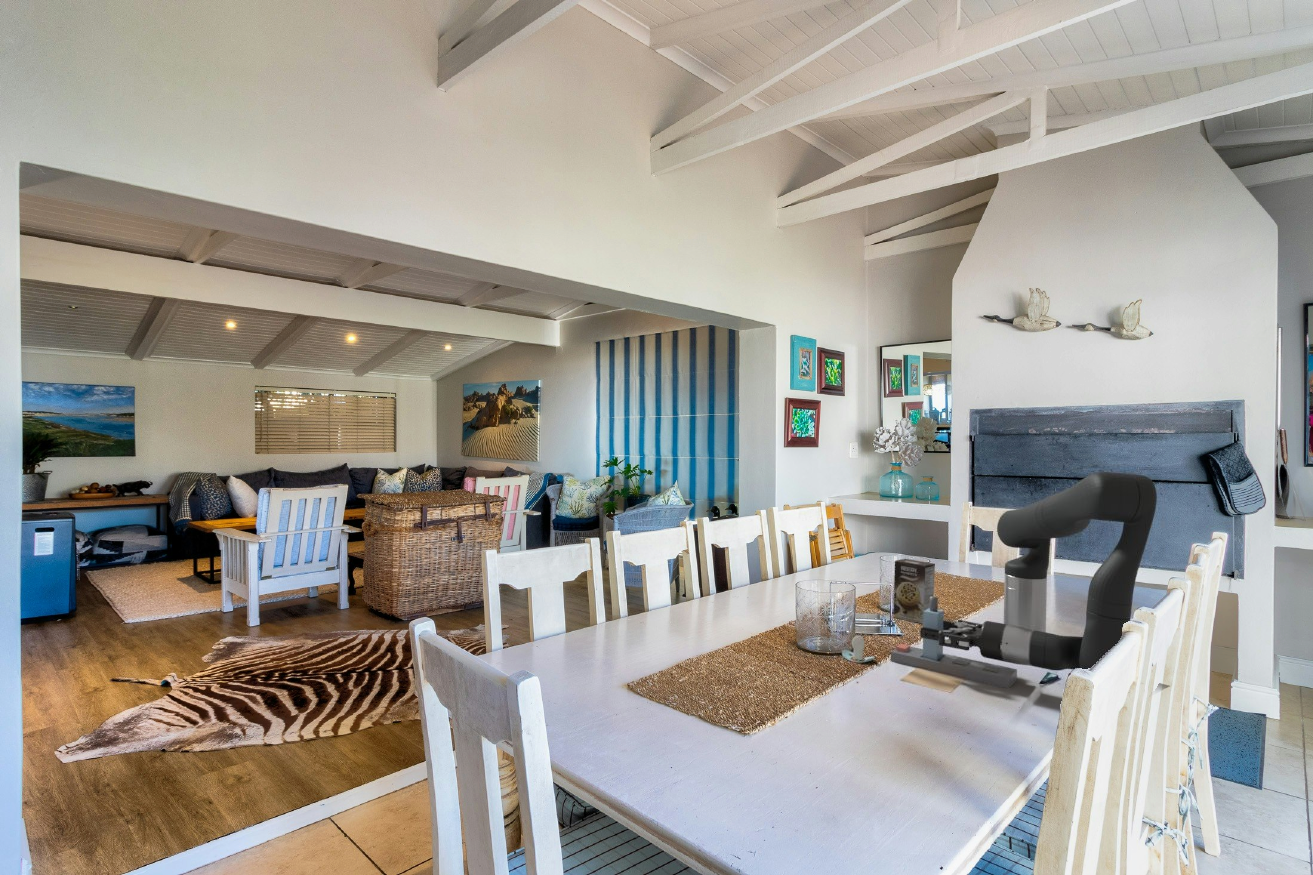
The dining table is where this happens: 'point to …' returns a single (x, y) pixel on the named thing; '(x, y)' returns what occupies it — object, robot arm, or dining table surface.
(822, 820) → the dining table surface
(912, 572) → the coffee box
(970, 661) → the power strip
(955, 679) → the coaster
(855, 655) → the pacifier
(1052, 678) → the teal triangular wedge
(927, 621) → the blue-grey pegged block
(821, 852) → the dining table surface
